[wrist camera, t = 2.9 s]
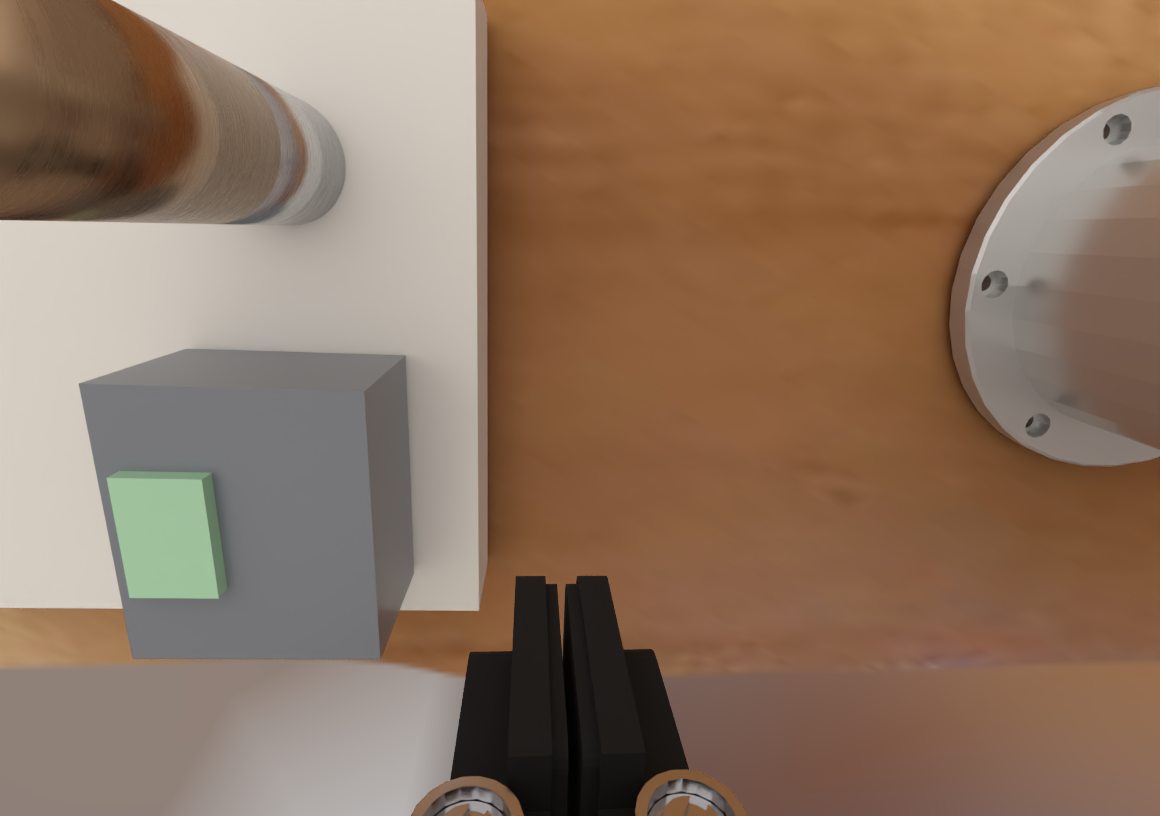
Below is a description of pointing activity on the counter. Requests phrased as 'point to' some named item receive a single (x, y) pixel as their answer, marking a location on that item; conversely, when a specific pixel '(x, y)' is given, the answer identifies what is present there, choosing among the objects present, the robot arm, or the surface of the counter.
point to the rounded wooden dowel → (149, 126)
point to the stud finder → (256, 501)
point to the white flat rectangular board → (274, 286)
